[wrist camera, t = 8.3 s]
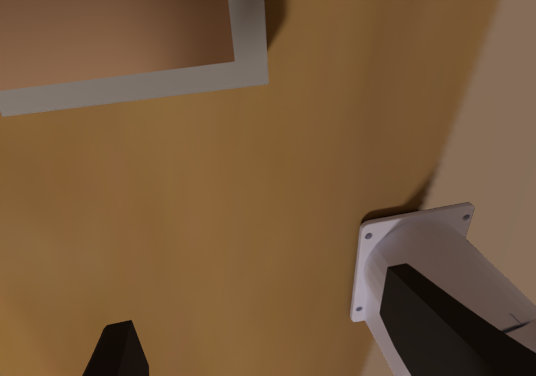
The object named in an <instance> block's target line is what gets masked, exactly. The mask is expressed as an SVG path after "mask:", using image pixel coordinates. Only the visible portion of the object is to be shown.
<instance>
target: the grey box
mask: <svg viewBox="0 0 536 376" xmlns="http://www.w3.org/2000/svg"><path fill="white" fill-rule="evenodd" d="M228 4H229V13H230V22H231V31H232V40H233V49H234V58H235V62H227V63H219V64H211V65H203V66H195V67H187V68H179V69H171V70H163V71H155V72H147V73H139V74H131V75H123V76H115V77H107V78H99V79H91V80H83V81H75V82H67V83H59V84H51V85H43V86H35V87H27V88H19V89H11V90H3V91H0V112H1V114H2V117H4V116H12V115H20V114H29V113H37V112H45V111H53V110H61V109H69V108H77V107H86V106H94V105H102V104H110V103H118V102H126V101H134V100H143V99H151V98H159V97H167V96H175V95H183V94H191V93H200V92H208V91H216V90H224V89H232V88H240V87H248V86H257V85H265V84H269V82H268V63H267V43H266V24H265V5H264V0H228Z"/></svg>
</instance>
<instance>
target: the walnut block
mask: <svg viewBox="0 0 536 376" xmlns="http://www.w3.org/2000/svg"><path fill="white" fill-rule="evenodd" d="M227 62H235V58H234V49H233V40H232V31H231V22H230V13H229V4H228V0H0V91H3V90H11V89H19V88H27V87H35V86H43V85H51V84H59V83H67V82H75V81H83V80H91V79H99V78H107V77H115V76H123V75H131V74H139V73H147V72H155V71H163V70H171V69H179V68H187V67H195V66H203V65H211V64H219V63H227Z"/></svg>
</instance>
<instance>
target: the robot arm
mask: <svg viewBox="0 0 536 376" xmlns="http://www.w3.org/2000/svg"><path fill="white" fill-rule="evenodd" d="M473 212H474V206H473V205H472V204H470V203H469V202H466V203H460V204H455V205H450V206H444V207H439V208H434V209H428V210H422V211H417V212H411V213H406V214H401V215H395V216H390V217H384V218H379V219H373V220H368V221H365V222H364V223H362V225H361V226H360V232H359V241H358V249H357V258H356V267H355V276H354V285H353V294H352V303H351V312H350V317H351V319H352V321H354V322H359V321H363V320H365V321H366V323H367V325H368V327H369V329H370V331H371V332H372V334H373V336H374V338H375V340H376V342H377V344H378V346H379V347H380V349H381V351H382V353H383V355H384V356H385V359H386V360H387V362H388V364H389V366H390V368H391V370H392V372H393V374H394V375H395V376H536V305H534V304H533V303H532V302H531V301H530V300H529V299H528V298H527V297H526V296H525V295H524V294H523V293H522V292H521V291H520V290H519V289H518V288H517V287H516V286H515V285H514V284H513V283H512V282H511V281H509V279H507V278H506V277H505V276H504V275H503V274H502V273H501V272H500V271H499V270H498V269H497V268H496V267H495V266H494V265H493V264H492V263H491V262H490V261H488V259H487V258H486V257H484V256H483V255H482V254H481V253H480V252H479V251H478V250H477V249H476V248H475V247H474V246H473V245H472V244H471V243H470V242H469V241H468V240H467V239H466V238H465V237H466V234H467V231H468V228H469V225H470V222H471V218H472V215H473ZM368 233H369V234H368ZM366 234H368V235H366ZM82 376H149V365H148V363H147V360H146V357H145V355H144V352H143V349H142V347H141V344H140V341H139V339H138V336H137V333H136V331H135V328H134V325H133V323H132V320H129V321H125V322H120V323H115V324H110V325H107V326H106V327H105V328H104V330H103V332H102V334H101V337H100V339H99V341H98V343H97V346H96V348H95V350H94V352H93V354H92V357H91V359H90V361H89V363H88V365H87V367H86V369H85V371H84V373H83V375H82Z"/></svg>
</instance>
